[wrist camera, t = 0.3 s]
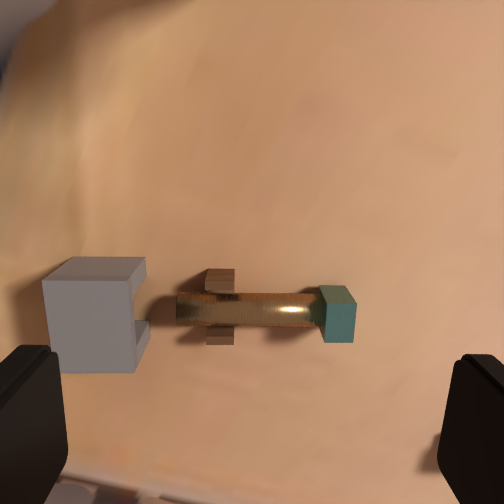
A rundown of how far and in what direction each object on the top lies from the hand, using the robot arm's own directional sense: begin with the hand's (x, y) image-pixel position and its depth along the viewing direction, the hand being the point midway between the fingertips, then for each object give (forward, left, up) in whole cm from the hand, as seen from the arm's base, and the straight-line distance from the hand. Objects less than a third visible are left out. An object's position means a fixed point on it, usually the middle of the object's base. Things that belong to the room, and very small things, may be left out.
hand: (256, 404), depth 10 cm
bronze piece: (+13, +2, -35) cm, 37 cm away
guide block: (+13, -3, -36) cm, 38 cm away
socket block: (+13, -15, -36) cm, 41 cm away
